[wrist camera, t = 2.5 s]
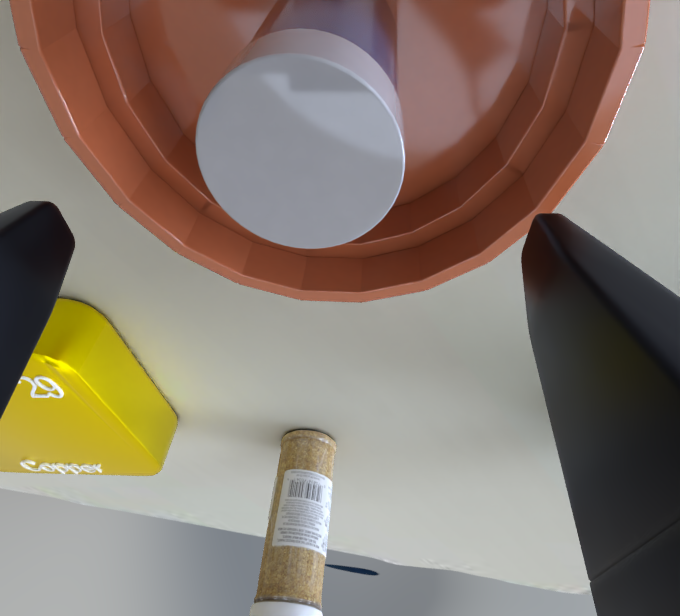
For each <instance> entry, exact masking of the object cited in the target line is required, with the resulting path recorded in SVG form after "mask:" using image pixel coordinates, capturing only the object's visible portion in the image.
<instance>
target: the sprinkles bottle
mask: <svg viewBox="0 0 680 616" xmlns="http://www.w3.org/2000/svg"><path fill="white" fill-rule="evenodd" d="M336 448H337V445H336V443H335V442H334V441H333V440H332V438H330V437H329V436H327V435H326V434H323V433H320V432H317V431H311V430H296V431H293V432H290V433H287V434H286V435H285V436H284V437H283V438H282V441H281V454H280V459H279V465H278V472H277V477H276V478H275V482H274V488H273V493H272V499H271V505H270V511H269V517H268V519H269V523H268V528H267V534H266V540H265V545H264V551H263V557H262V564H261V568H260V570H261V571H260V575H259V581H258V589H257V594H256V597H255V598H254V604H253V605H252V606H251V609H250V615H249V616H323V615H322V613H321V611H320V610H321V609H322V604H321V595H322V585H323V577H324V565H325V560H326V551H327V540H328V529H329V519H330V508H331V496H332V476H333V465H334V456H335V453H336Z"/></svg>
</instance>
